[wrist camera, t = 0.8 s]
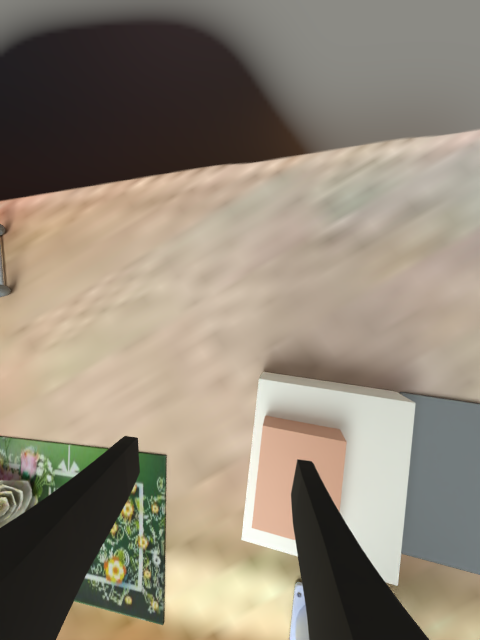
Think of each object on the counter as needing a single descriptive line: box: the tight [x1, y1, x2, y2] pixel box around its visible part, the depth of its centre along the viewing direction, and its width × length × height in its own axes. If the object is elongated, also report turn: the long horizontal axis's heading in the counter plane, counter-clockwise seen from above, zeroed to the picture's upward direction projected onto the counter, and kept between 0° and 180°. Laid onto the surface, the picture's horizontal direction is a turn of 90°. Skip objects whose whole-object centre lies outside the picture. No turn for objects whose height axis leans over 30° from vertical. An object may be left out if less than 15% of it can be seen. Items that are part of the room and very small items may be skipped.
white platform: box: [242, 372, 416, 586], centre depth 24 cm, size 16×14×4 cm
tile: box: [252, 416, 347, 540], centre depth 21 cm, size 9×7×2 cm
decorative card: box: [0, 436, 166, 625], centre depth 29 cm, size 33×8×20 cm
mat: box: [400, 392, 480, 575], centre depth 23 cm, size 16×12×1 cm
